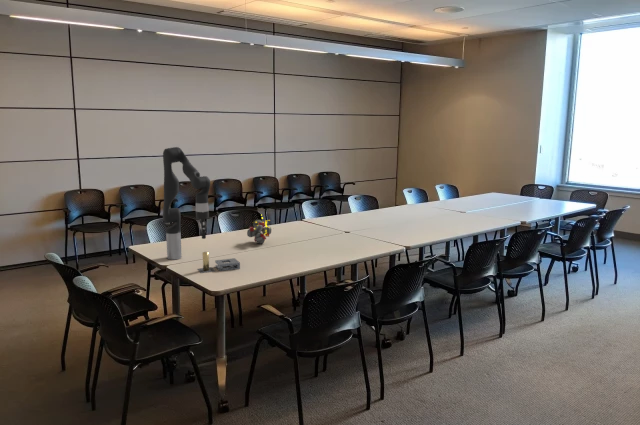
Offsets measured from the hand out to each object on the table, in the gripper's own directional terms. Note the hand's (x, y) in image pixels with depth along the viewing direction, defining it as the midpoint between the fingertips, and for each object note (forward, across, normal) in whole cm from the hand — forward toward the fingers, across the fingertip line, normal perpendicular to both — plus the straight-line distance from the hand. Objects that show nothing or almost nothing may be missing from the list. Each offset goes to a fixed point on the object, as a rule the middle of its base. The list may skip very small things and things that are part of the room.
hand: (203, 237), depth 300 cm
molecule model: (+22, -60, +47) cm, 79 cm away
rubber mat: (+21, -1, +1) cm, 21 cm away
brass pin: (+21, -1, +1) cm, 21 cm away
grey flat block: (+21, -2, +14) cm, 25 cm away
